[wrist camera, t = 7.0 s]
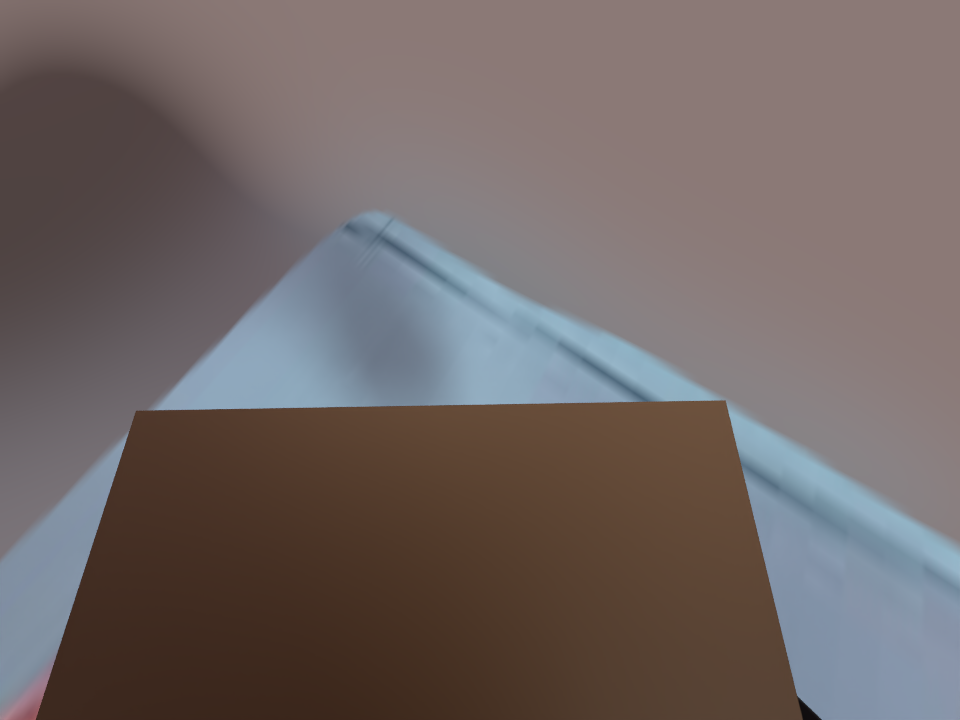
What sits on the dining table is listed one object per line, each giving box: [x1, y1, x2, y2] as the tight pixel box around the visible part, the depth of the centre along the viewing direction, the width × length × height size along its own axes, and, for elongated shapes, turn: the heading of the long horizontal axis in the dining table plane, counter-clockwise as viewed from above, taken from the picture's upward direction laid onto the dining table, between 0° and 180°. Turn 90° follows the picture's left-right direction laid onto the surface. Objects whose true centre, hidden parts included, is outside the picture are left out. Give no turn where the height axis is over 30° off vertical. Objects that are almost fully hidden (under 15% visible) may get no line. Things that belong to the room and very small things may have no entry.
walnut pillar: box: [36, 401, 803, 720], centre depth 8 cm, size 5×5×13 cm
